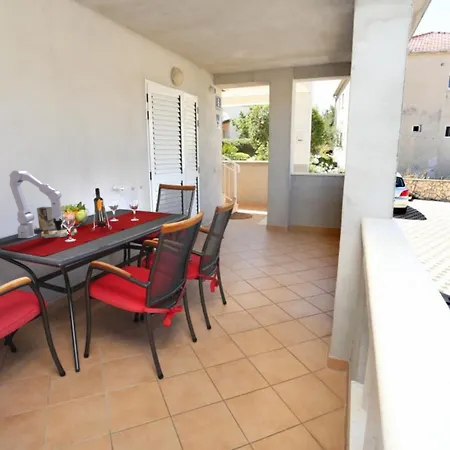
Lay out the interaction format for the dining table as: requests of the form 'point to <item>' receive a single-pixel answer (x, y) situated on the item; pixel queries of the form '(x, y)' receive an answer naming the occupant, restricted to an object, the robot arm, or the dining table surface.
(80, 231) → the dining table surface
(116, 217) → the dining table surface
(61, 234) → the glasses frame
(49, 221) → the coffee box
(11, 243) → the dining table surface
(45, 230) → the display stand
